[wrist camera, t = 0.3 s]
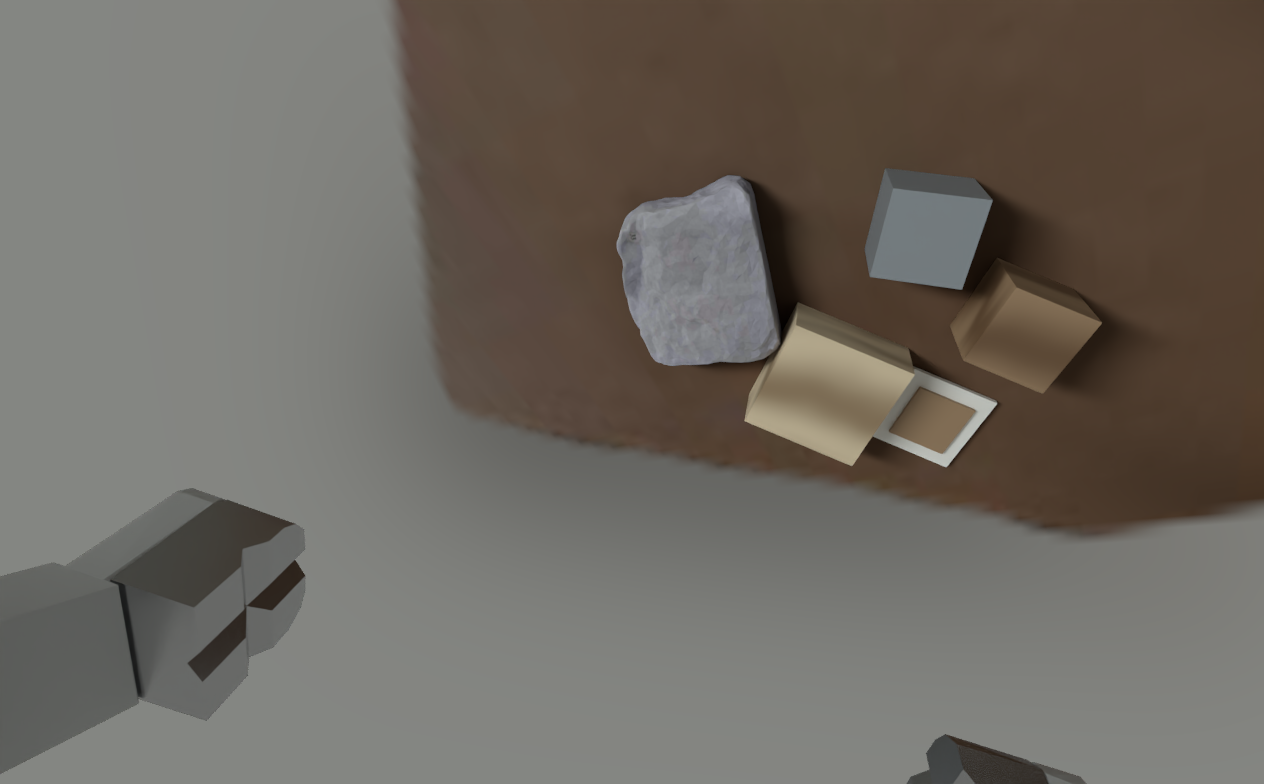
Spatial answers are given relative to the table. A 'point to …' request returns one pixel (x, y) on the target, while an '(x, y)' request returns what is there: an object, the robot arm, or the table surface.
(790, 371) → the oak base block
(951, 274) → the slate cube
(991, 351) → the walnut cube
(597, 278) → the table surface
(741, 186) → the stone block
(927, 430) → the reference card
